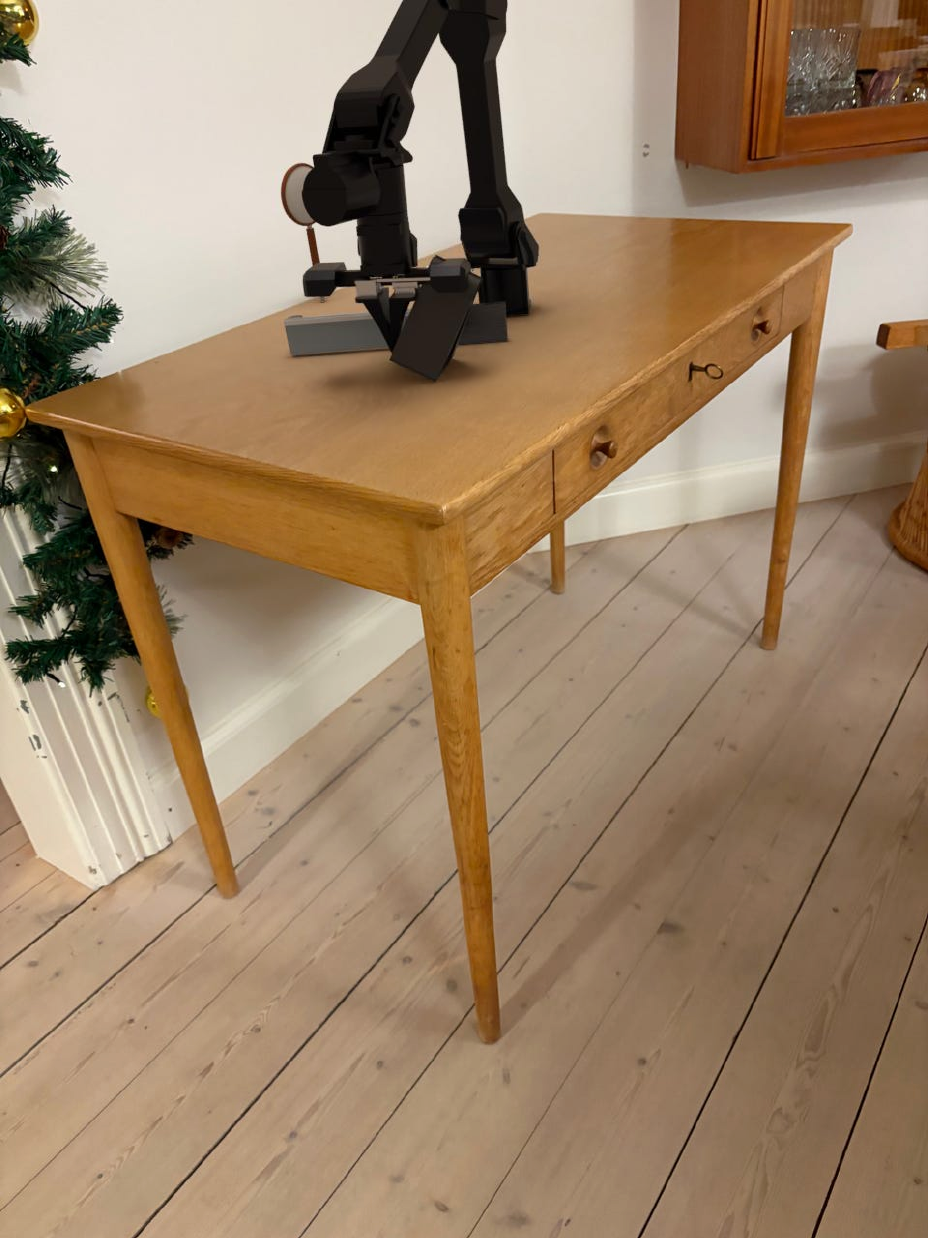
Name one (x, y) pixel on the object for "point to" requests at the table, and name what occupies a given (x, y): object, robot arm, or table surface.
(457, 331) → the phone stand
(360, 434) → the table surface
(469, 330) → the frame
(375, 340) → the grey flat bar
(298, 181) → the magnifying glass
